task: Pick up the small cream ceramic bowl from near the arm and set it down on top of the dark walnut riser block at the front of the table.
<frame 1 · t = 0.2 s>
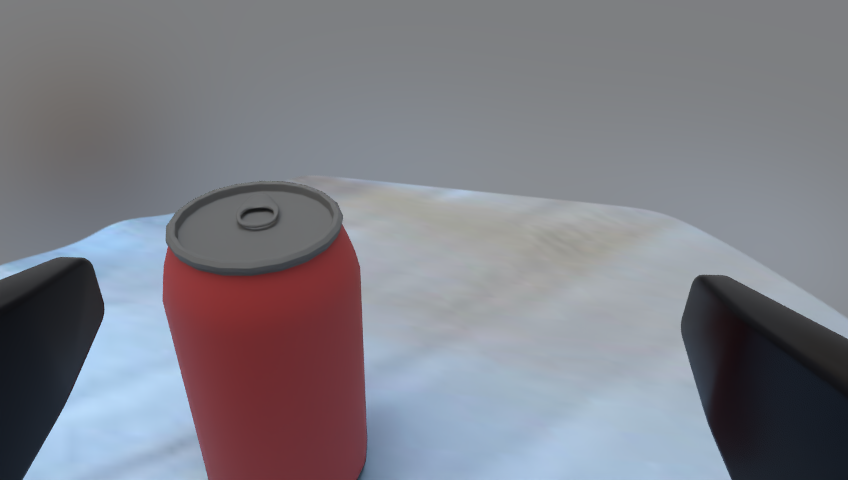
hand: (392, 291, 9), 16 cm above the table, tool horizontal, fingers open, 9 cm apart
beer can: (291, 464, 26), on the table
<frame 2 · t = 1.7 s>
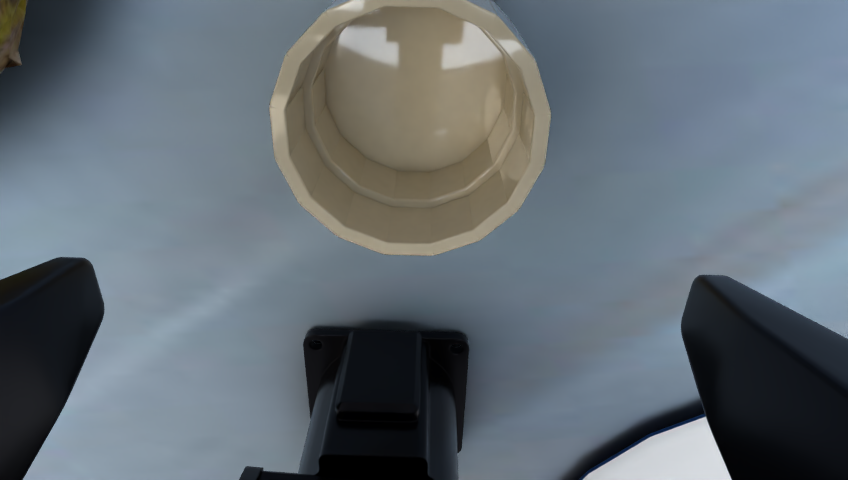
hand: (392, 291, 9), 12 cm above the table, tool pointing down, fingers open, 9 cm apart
bowl: (415, 82, 19), on the table
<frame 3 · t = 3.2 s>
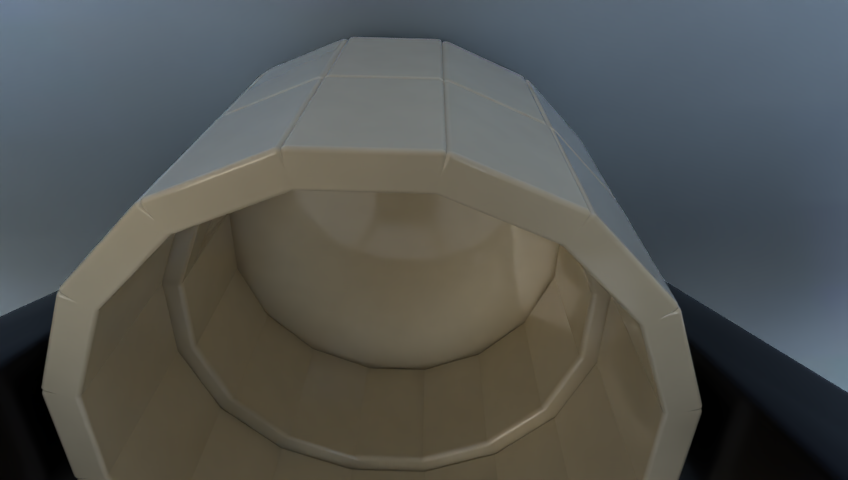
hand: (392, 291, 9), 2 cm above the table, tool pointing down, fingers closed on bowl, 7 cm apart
bowl: (397, 226, 11), on the table, touching gripper
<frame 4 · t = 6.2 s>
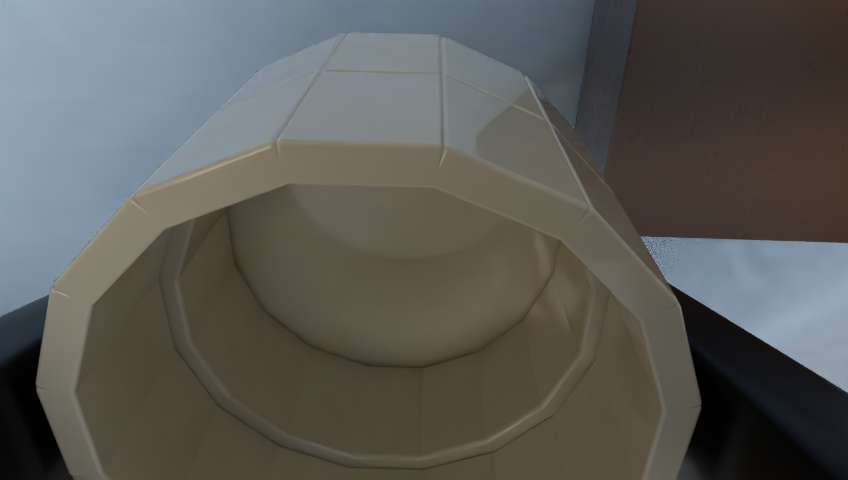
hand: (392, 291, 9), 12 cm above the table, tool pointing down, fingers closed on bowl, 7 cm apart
bowl: (396, 223, 11), point 10 cm above the table, touching gripper
riser: (746, 42, 19), on the table
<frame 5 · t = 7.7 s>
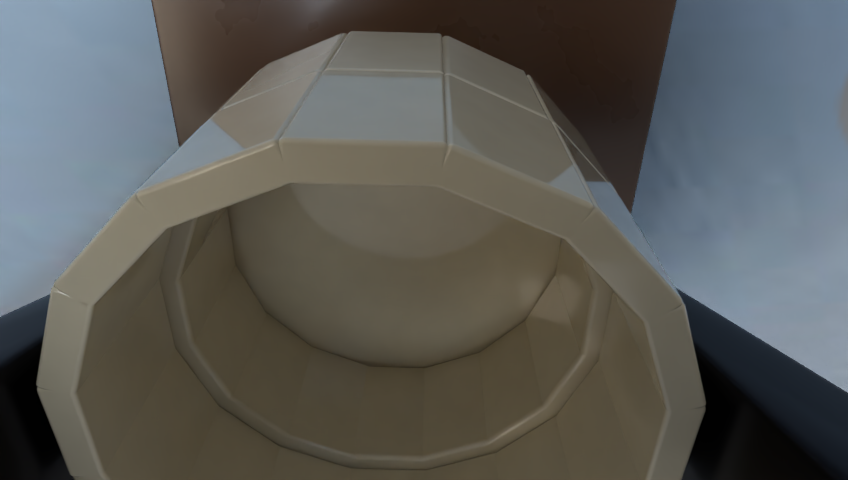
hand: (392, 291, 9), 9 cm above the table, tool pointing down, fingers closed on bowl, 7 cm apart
bowl: (397, 223, 11), point 7 cm above the table, touching gripper
riser: (415, 110, 17), on the table
when the fingers open (6 cm above the table, at t = 9.0 s): bowl stays where it is, resting on riser.
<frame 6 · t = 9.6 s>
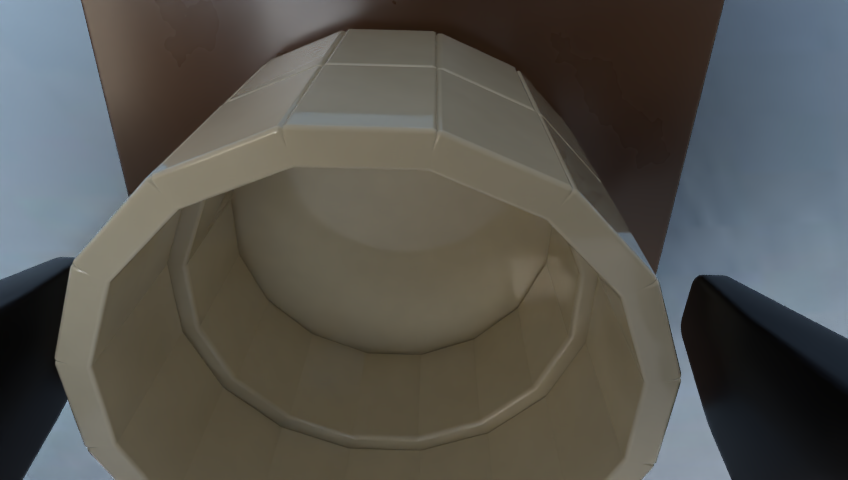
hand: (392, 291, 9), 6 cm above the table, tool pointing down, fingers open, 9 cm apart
bowl: (394, 214, 11), point 4 cm above the table, touching riser
riser: (408, 142, 15), on the table
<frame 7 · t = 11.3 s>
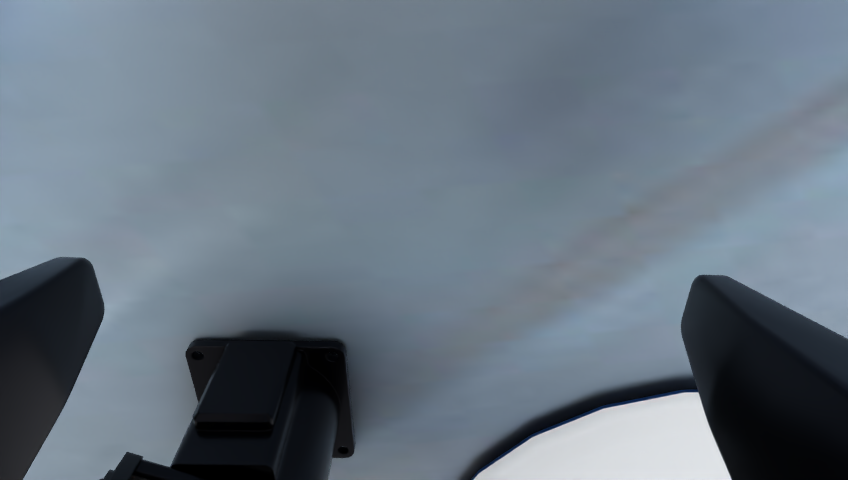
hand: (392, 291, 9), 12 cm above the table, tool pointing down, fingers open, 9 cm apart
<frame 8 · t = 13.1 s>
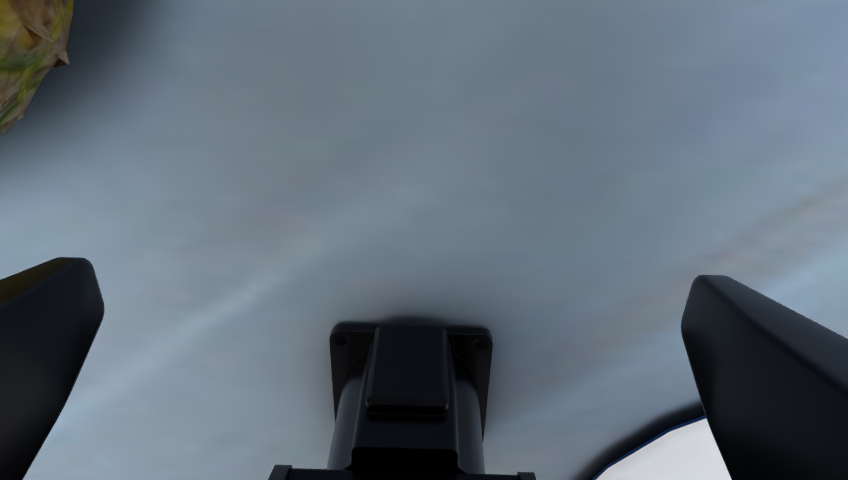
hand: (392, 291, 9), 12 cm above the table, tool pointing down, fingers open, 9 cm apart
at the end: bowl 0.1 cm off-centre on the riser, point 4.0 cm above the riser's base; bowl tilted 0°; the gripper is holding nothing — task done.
